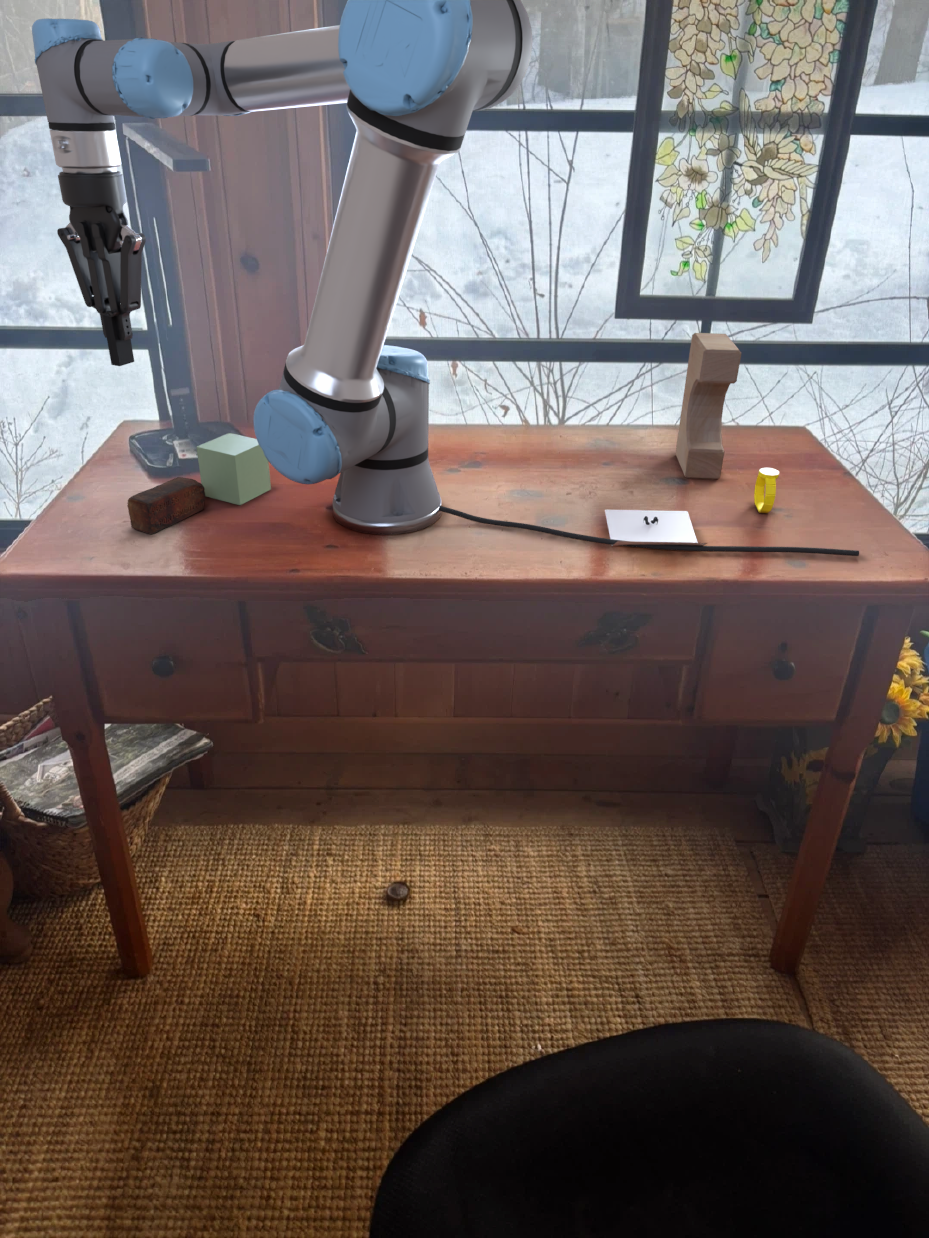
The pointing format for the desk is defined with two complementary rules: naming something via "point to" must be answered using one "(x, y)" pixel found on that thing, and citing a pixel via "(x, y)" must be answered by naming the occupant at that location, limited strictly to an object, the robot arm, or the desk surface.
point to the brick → (165, 504)
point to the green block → (233, 468)
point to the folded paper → (651, 527)
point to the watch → (768, 478)
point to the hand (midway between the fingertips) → (123, 363)
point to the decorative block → (705, 404)
